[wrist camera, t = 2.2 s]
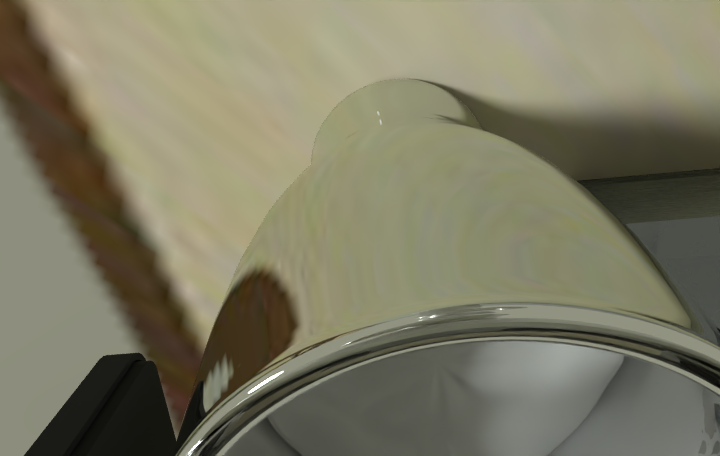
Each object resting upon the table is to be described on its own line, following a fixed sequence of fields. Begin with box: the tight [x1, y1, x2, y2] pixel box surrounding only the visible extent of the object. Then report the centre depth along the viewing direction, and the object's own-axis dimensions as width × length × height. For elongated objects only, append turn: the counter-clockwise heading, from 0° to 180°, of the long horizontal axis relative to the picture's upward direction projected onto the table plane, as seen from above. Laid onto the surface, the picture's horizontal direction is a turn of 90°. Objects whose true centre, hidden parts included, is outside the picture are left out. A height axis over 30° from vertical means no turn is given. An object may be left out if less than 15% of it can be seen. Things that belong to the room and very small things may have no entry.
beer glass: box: [172, 79, 720, 456], centre depth 12 cm, size 7×7×15 cm
